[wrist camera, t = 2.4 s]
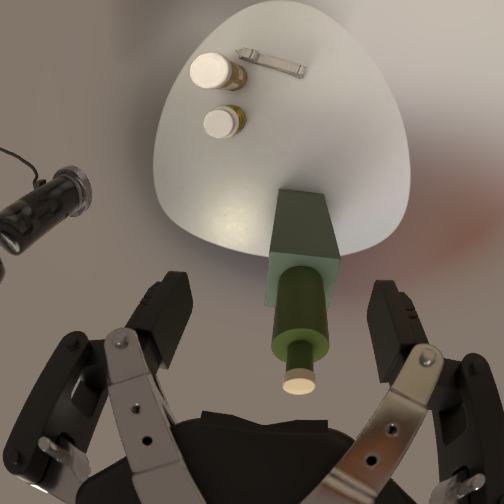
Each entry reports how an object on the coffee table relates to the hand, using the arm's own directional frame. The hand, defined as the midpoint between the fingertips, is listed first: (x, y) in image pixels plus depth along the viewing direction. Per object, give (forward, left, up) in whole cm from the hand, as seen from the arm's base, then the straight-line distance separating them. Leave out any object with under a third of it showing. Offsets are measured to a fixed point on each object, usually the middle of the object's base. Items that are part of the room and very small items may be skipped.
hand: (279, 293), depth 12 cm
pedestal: (+3, -11, -35) cm, 37 cm away
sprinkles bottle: (-9, +11, -36) cm, 38 cm away
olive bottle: (+3, -11, -15) cm, 19 cm away
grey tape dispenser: (-4, +13, -36) cm, 38 cm away
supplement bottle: (-9, +4, -36) cm, 37 cm away
